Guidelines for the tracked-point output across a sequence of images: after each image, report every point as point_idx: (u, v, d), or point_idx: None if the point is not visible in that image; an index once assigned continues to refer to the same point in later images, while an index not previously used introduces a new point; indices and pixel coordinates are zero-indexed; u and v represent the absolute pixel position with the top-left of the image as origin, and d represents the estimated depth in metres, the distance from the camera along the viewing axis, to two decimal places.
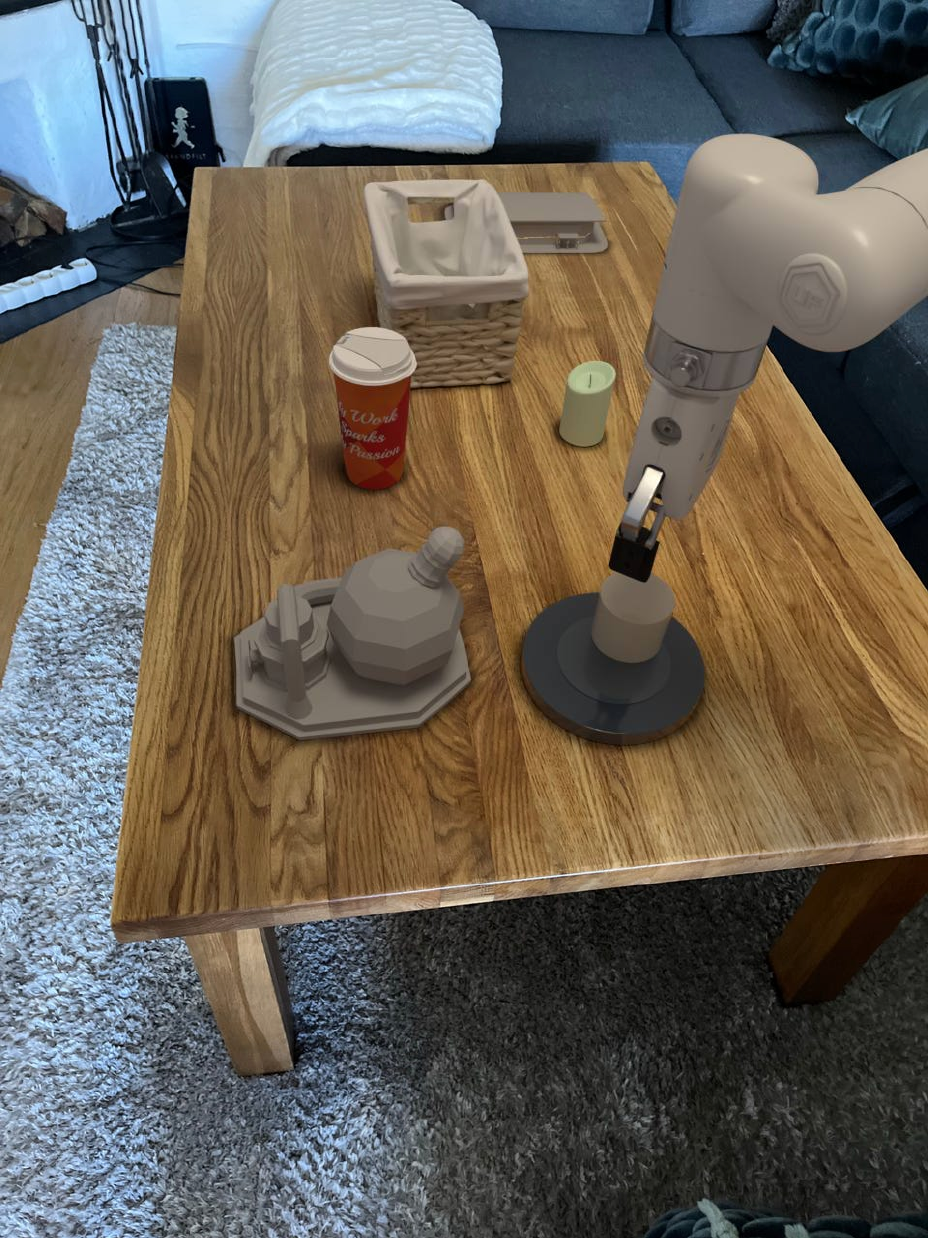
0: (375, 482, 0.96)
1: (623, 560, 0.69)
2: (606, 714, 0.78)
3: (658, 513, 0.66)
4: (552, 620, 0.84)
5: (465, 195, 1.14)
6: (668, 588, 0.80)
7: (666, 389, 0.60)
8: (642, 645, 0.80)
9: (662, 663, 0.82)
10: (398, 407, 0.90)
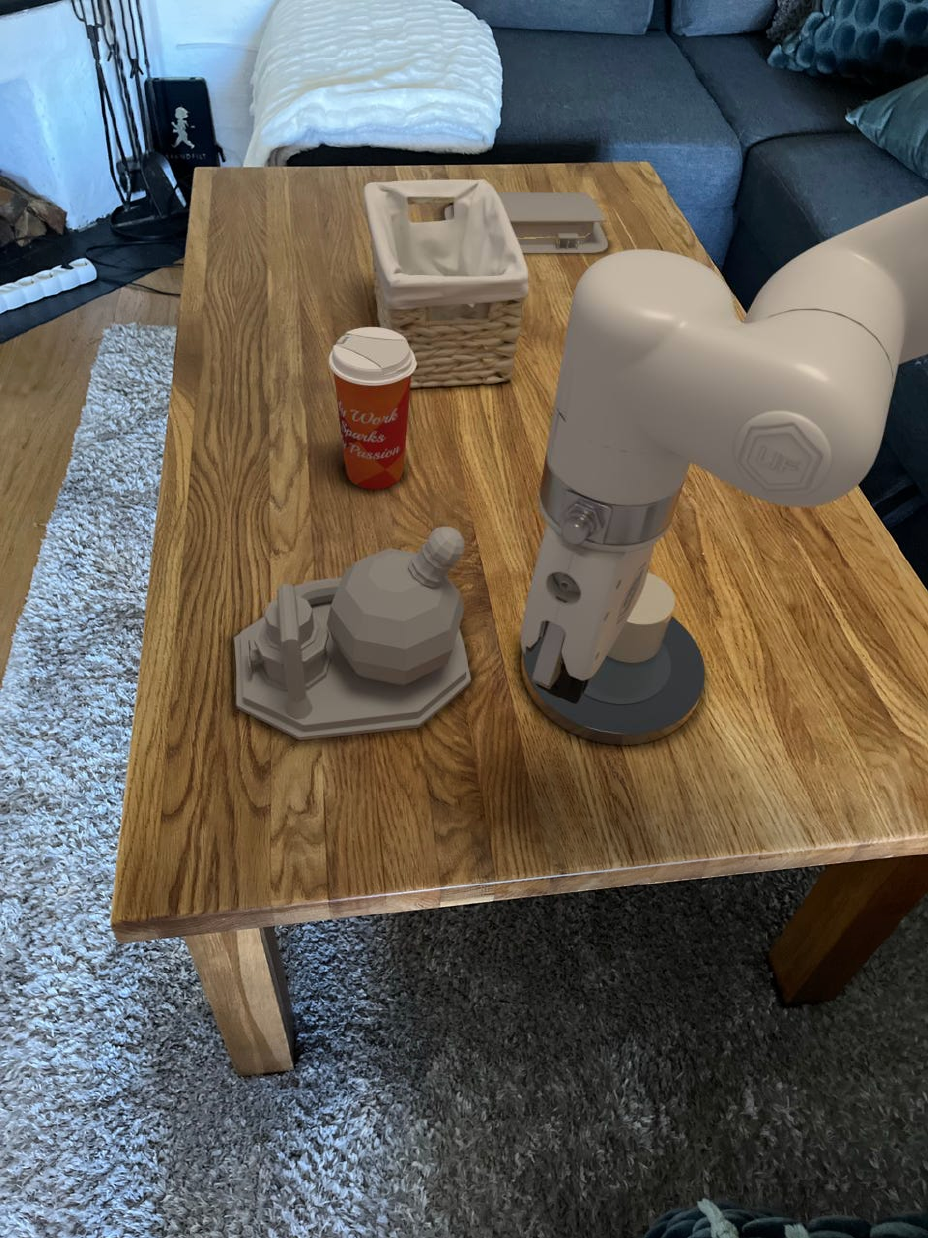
0: (375, 482, 0.96)
1: None
2: (606, 714, 0.78)
3: None
4: None
5: (465, 195, 1.14)
6: (668, 588, 0.80)
7: (561, 541, 0.50)
8: (642, 645, 0.80)
9: (662, 663, 0.82)
10: (398, 407, 0.90)
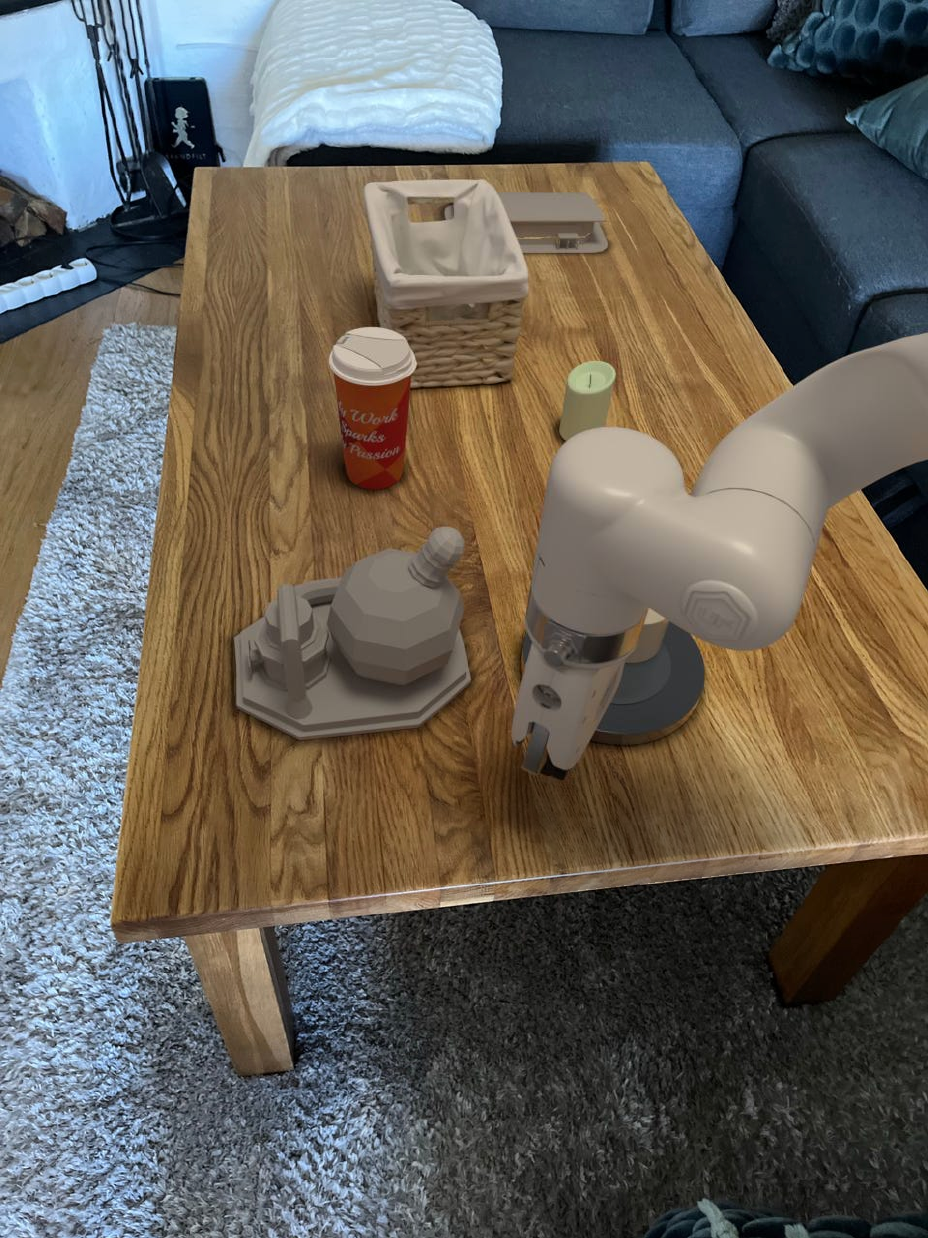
0: (375, 482, 0.96)
1: None
2: (606, 714, 0.78)
3: None
4: None
5: (465, 195, 1.14)
6: None
7: (544, 659, 0.58)
8: (642, 645, 0.80)
9: (662, 663, 0.82)
10: (398, 407, 0.90)
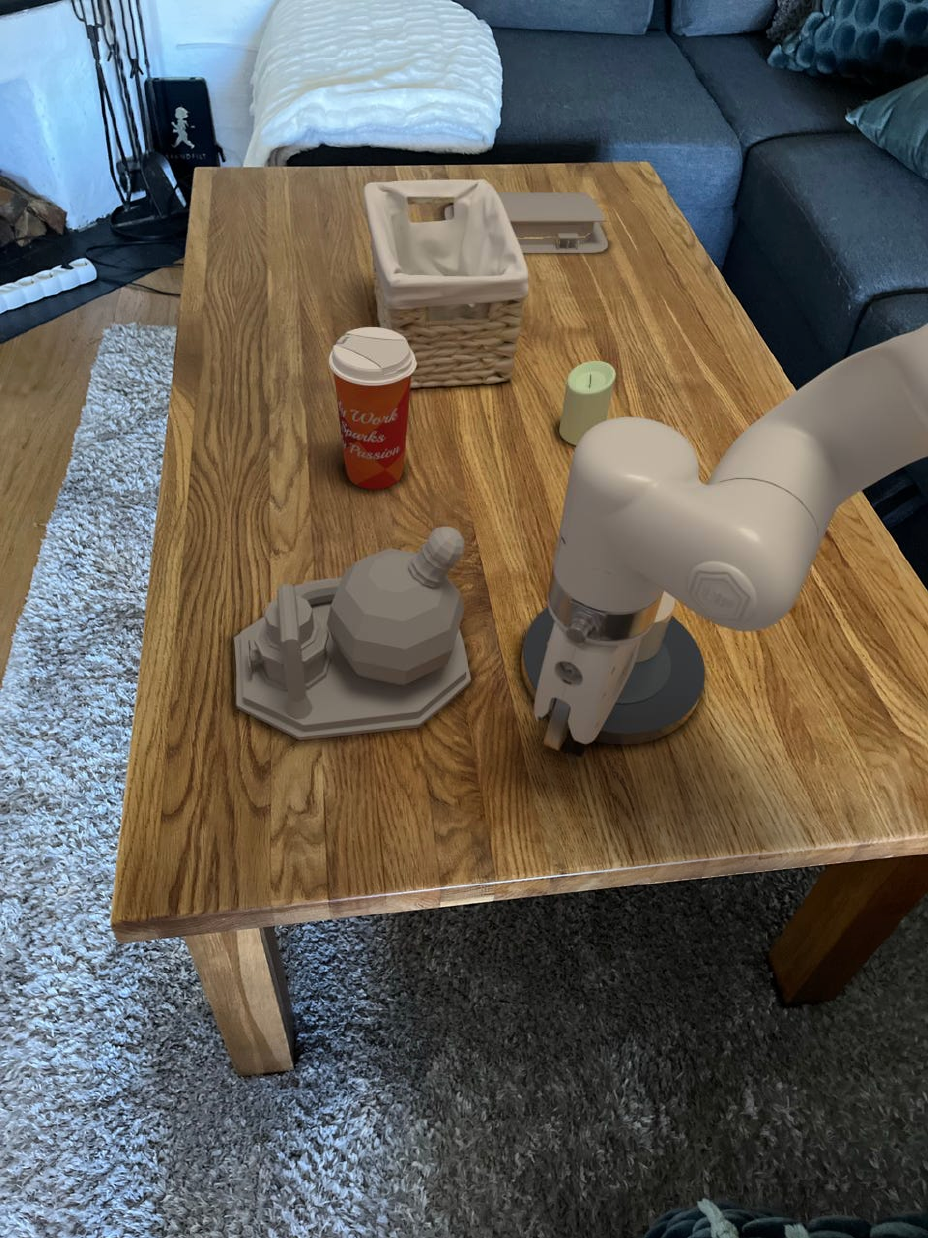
0: (375, 482, 0.96)
1: None
2: None
3: None
4: (552, 619, 0.84)
5: (465, 195, 1.14)
6: None
7: (566, 637, 0.62)
8: (642, 645, 0.80)
9: (663, 663, 0.82)
10: (398, 407, 0.90)
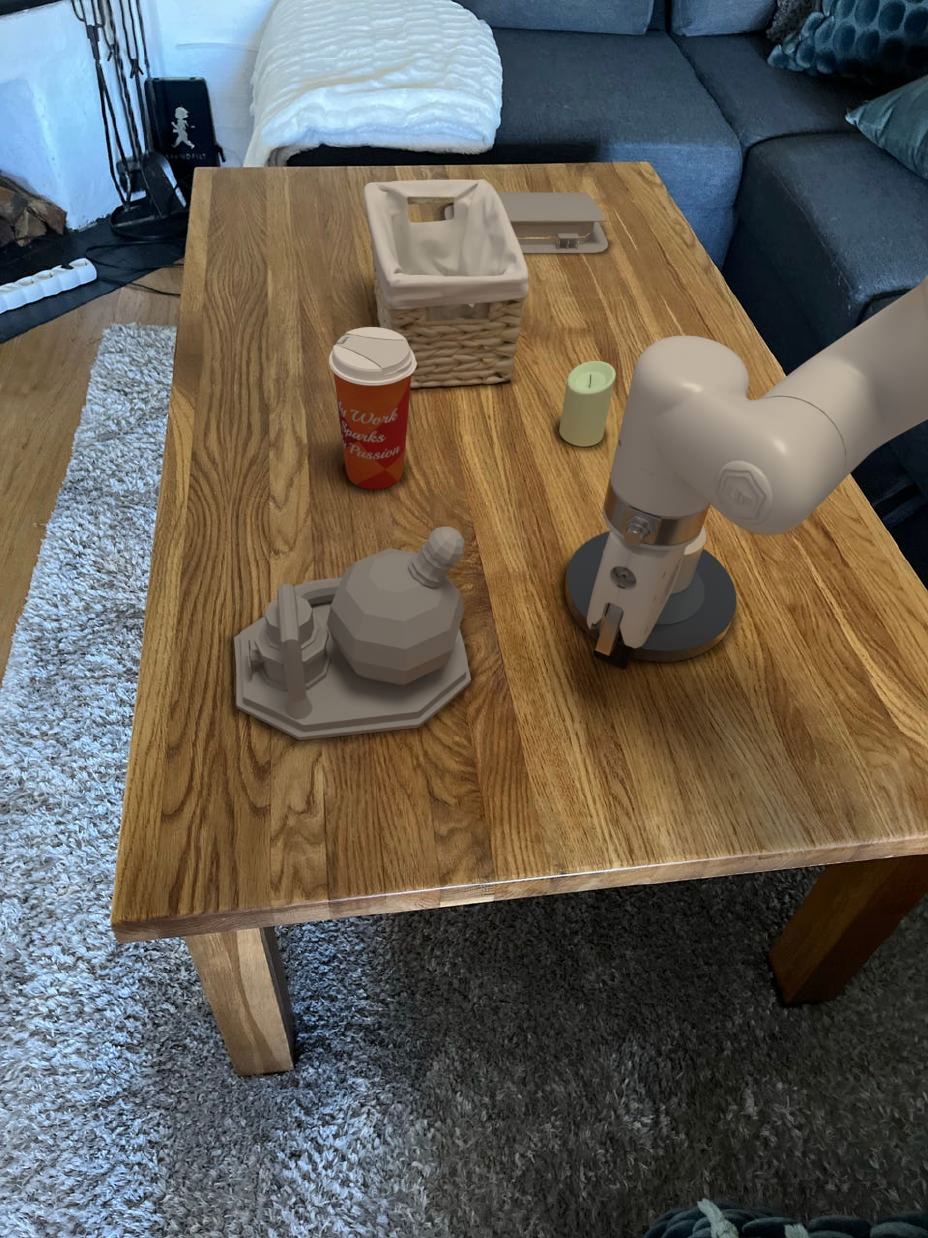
0: (375, 482, 0.96)
1: None
2: None
3: None
4: (592, 551, 0.91)
5: (465, 195, 1.14)
6: None
7: (622, 543, 0.68)
8: None
9: (697, 589, 0.88)
10: (398, 407, 0.90)
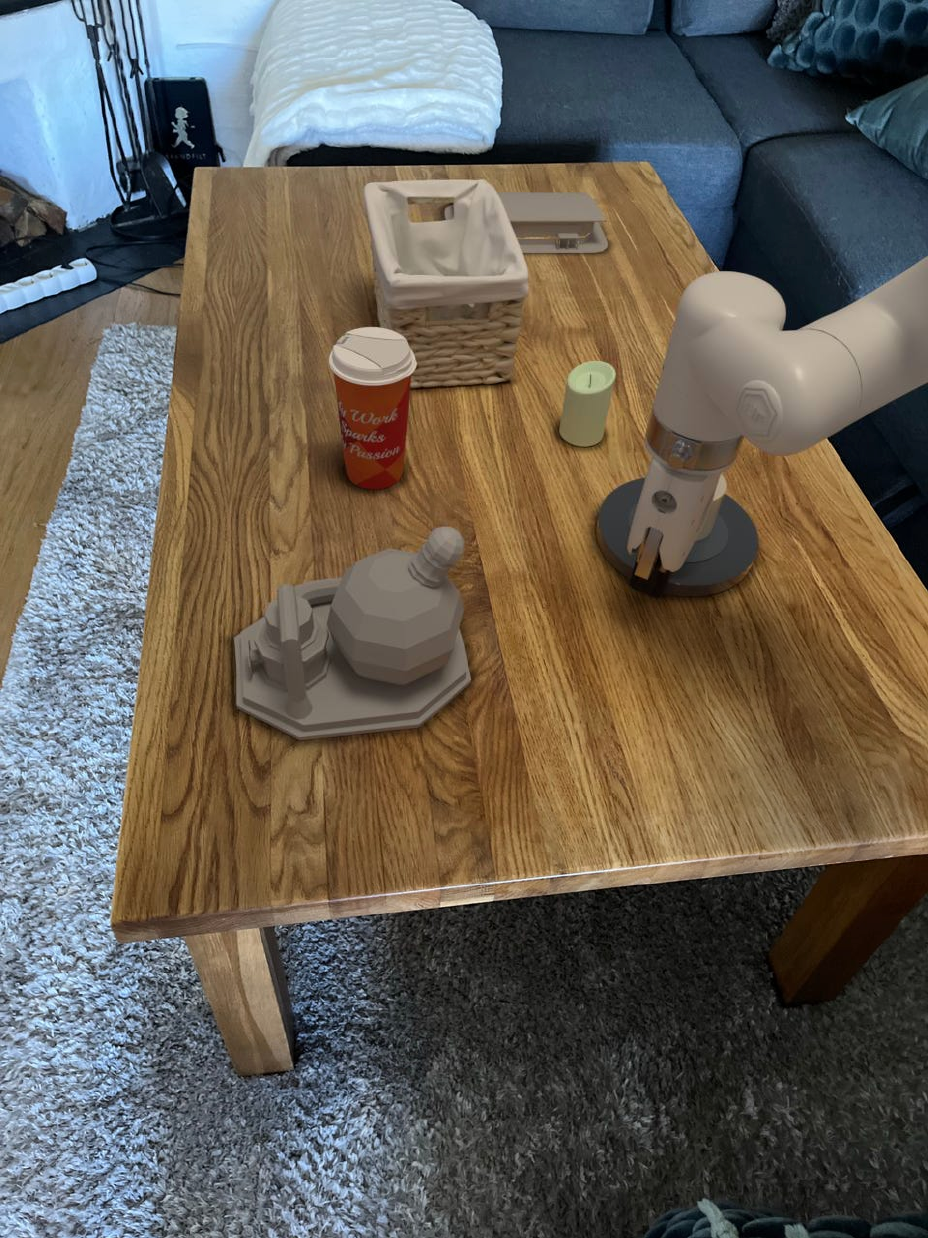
0: (375, 482, 0.96)
1: (641, 581, 0.86)
2: None
3: None
4: (621, 498, 0.96)
5: (465, 195, 1.14)
6: None
7: (664, 469, 0.73)
8: None
9: (721, 530, 0.94)
10: (398, 407, 0.90)
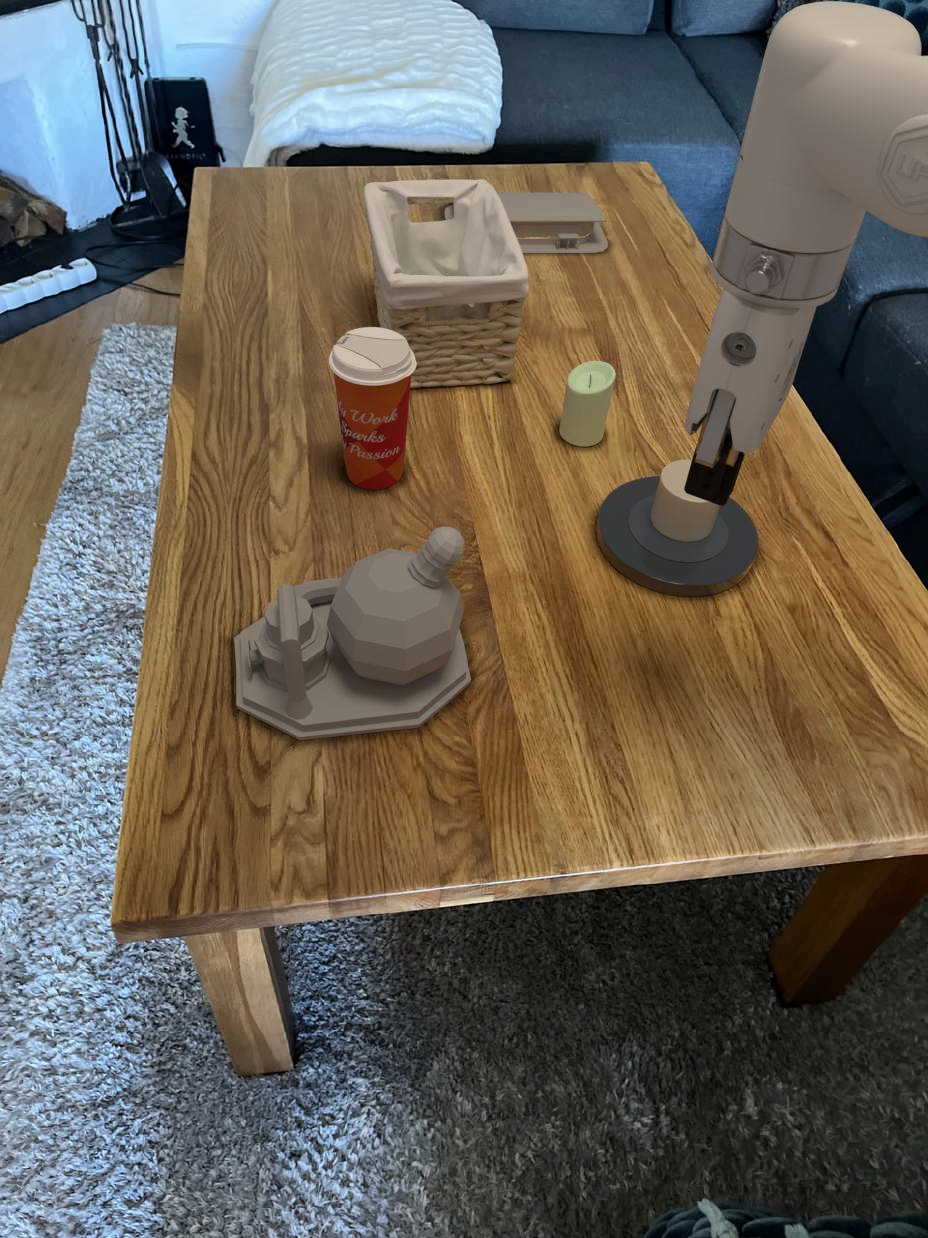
0: (375, 482, 0.96)
1: (701, 480, 0.66)
2: (676, 570, 0.90)
3: (733, 441, 0.62)
4: (621, 498, 0.96)
5: (465, 195, 1.14)
6: None
7: (739, 300, 0.54)
8: (698, 524, 0.90)
9: (721, 530, 0.94)
10: (398, 407, 0.90)
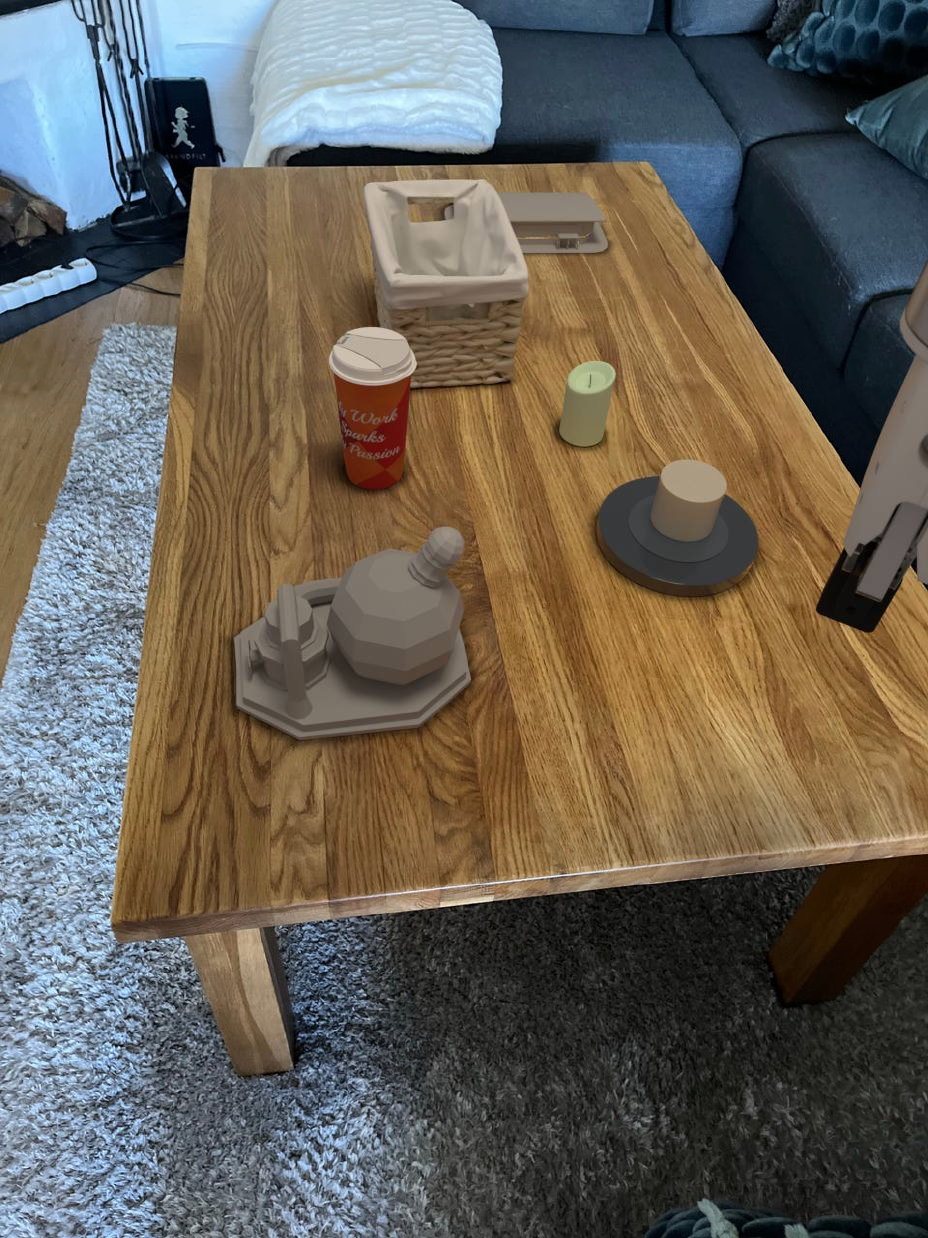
0: (375, 482, 0.96)
1: (845, 602, 0.49)
2: (676, 570, 0.90)
3: (903, 560, 0.45)
4: (621, 498, 0.96)
5: (465, 195, 1.14)
6: (720, 474, 0.91)
7: None
8: (698, 524, 0.90)
9: (721, 530, 0.94)
10: (398, 407, 0.90)
